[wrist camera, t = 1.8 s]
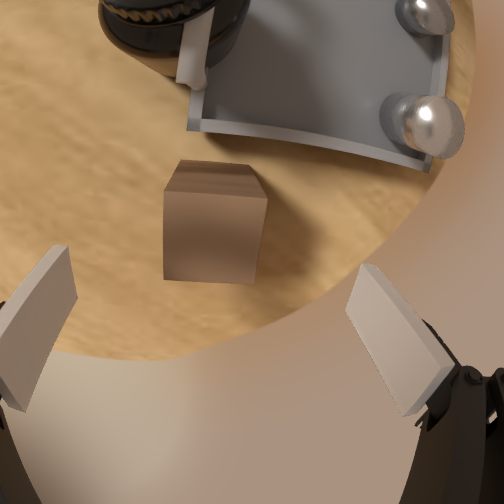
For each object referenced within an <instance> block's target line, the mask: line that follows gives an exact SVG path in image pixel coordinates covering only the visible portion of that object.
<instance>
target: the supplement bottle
mask: <svg viewBox="0 0 504 504" xmlns="http://www.w3.org/2000/svg"><path fill="white" fill-rule="evenodd" d="M250 3H251V0H99V4H98V17H99V22H100V25H101V28H102V30H103V32H104V34H105V35H106V37H107V38H108V39H109V40H110V41H111V42H112V43H113V44H114V45H115V46H116V47H117V48H119V49H120V50H122V51H123V52H125V53H126V54H128V55H130V56H131V57H133V58H135V59H136V60H138V61H139V62H141V63H143V64H144V65H146V66H147V67H149V68H151V69H152V70H154V71H156V72H158V73H160V74H163V75H166V76H170V77H176V75H177V68H178V61H179V54H180V48H181V42H182V36H183V30H184V25H185V23H186V22H189V21H191V20H193V19H196V18H198V17H199V16H201V15H203V14H205V13H206V12H208V11H209V10H211V9H212V8H213V7H215V8H214V13H213V19H212V24H211V30H210V36H209V42H208V48H207V54H206V61H205V68H207V67H208V69H210V68H211V67H213V66H215V65H216V64H218V63H219V62H220V61H222V60H223V59H224V58H225V57H226V56H227V55H228V54H229V52H230V51H231V50H232V48H233V46H234V45H235V43H236V40H237V38H238V35H239V33H240V30H241V28H242V25H243V22H244V20H245V17H246V15H247V13H248V10H249V7H250ZM205 68H204V69H205Z"/></svg>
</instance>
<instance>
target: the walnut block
mask: <svg viewBox="0 0 504 504" xmlns="http://www.w3.org/2000/svg"><path fill="white" fill-rule="evenodd" d="M267 202H268V198H267V196H266V194H265V193H264V191H263V189H262V187H261V186H260V184H259V182H258V180H257V178H256V177H255V175H254V173H253V171H252V170H251V168H250V166H249V165H243V164H233V163H222V162H209V161H194V160H180V162H179V164H178V166H177V168H176V169H175V171H174V173H173V175H172V177H171V179H170V181H169V183H168V184H167V186H166V188H165V190H164V208H163V272H164V280H174V281H191V282H209V283H230V284H253V285H254V280H255V274H256V268H257V262H258V256H259V250H260V244H261V238H262V232H263V226H264V220H265V214H266V208H267Z"/></svg>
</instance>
